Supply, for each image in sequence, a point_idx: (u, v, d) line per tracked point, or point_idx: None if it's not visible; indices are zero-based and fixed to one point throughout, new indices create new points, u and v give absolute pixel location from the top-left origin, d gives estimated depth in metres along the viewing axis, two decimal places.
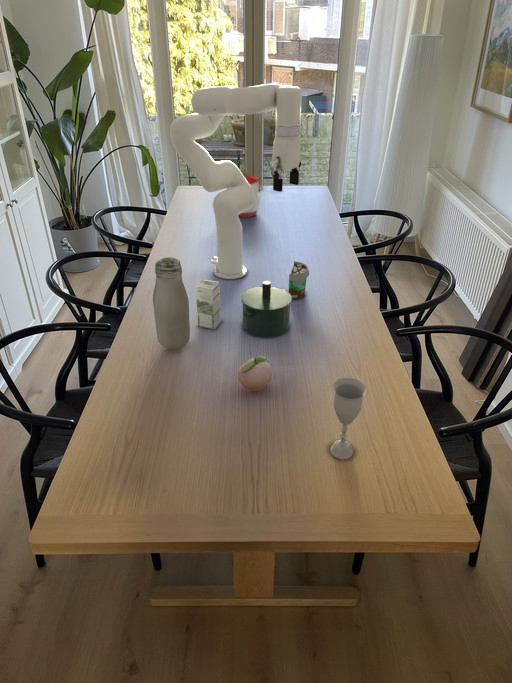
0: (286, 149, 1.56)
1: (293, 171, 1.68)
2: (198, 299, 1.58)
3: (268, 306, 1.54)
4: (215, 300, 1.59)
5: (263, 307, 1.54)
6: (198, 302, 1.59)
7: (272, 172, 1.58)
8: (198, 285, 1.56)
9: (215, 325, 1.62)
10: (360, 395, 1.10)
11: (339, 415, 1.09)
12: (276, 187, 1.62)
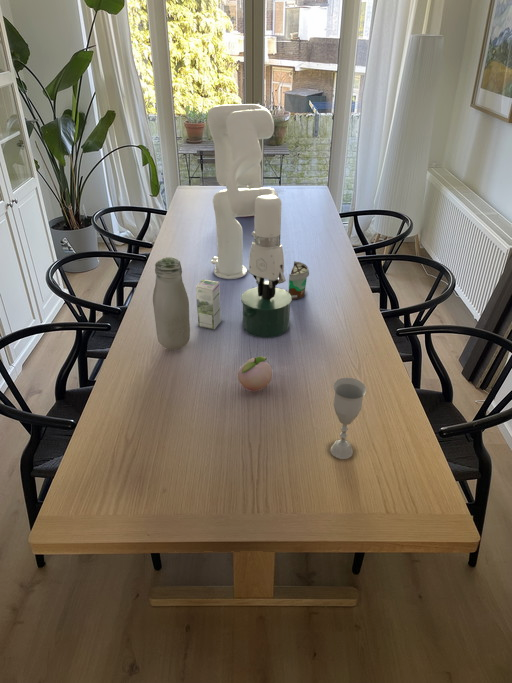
0: None
1: None
2: (198, 299, 1.58)
3: (268, 306, 1.54)
4: (215, 300, 1.59)
5: (263, 307, 1.54)
6: (198, 302, 1.59)
7: None
8: (198, 285, 1.56)
9: (215, 325, 1.62)
10: (360, 395, 1.10)
11: (339, 415, 1.09)
12: (273, 294, 1.57)
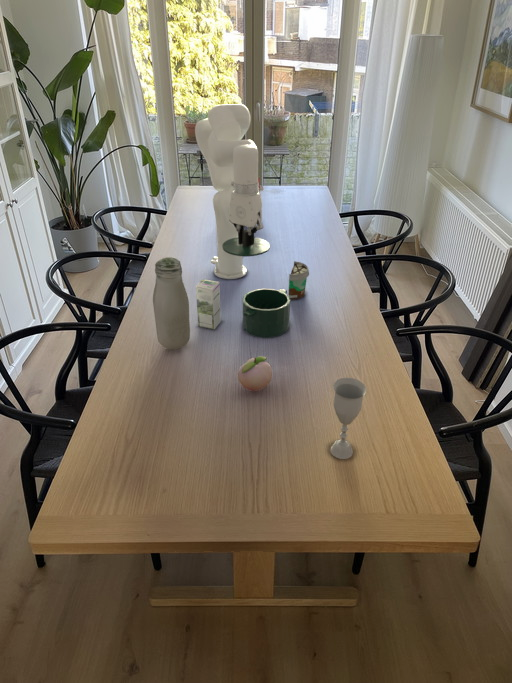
0: None
1: None
2: (198, 299, 1.58)
3: (247, 252, 1.64)
4: (215, 300, 1.59)
5: (242, 253, 1.64)
6: (198, 302, 1.59)
7: None
8: (198, 285, 1.56)
9: (215, 325, 1.62)
10: (360, 395, 1.10)
11: (339, 415, 1.09)
12: (253, 242, 1.67)
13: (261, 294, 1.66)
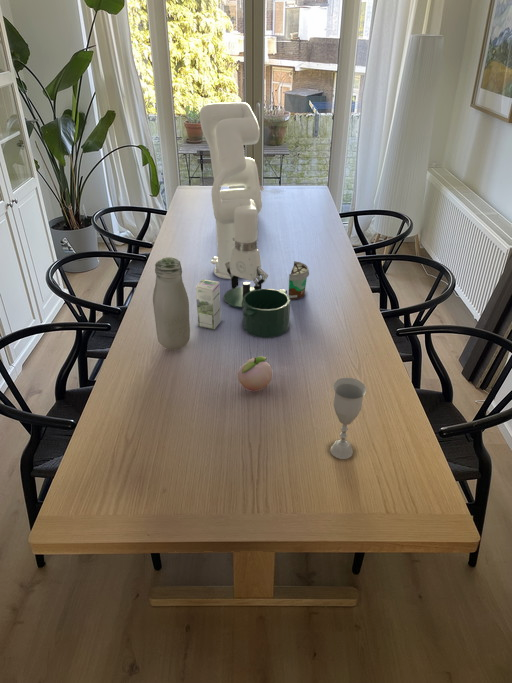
0: None
1: (235, 277, 1.78)
2: (198, 299, 1.58)
3: None
4: (215, 300, 1.59)
5: None
6: (198, 302, 1.59)
7: (264, 280, 1.71)
8: (198, 285, 1.56)
9: (215, 325, 1.62)
10: (360, 395, 1.10)
11: (339, 415, 1.09)
12: None
13: (261, 294, 1.66)
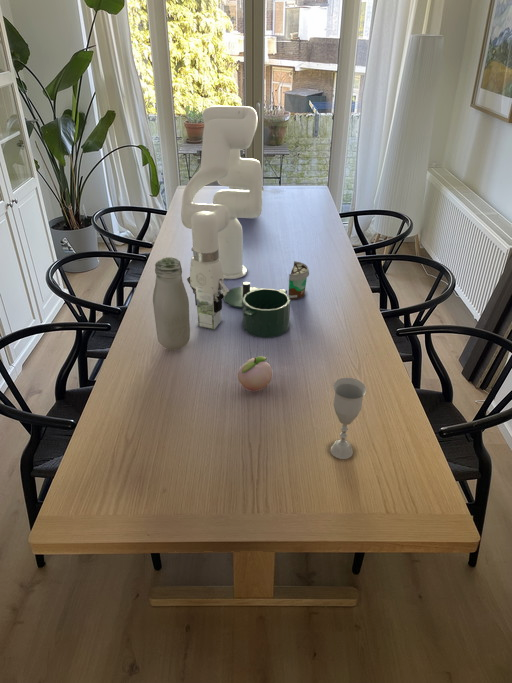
0: None
1: None
2: (198, 299, 1.58)
3: None
4: None
5: None
6: (198, 302, 1.59)
7: (224, 295, 1.55)
8: None
9: (215, 325, 1.62)
10: (360, 395, 1.10)
11: (339, 415, 1.09)
12: (220, 307, 1.59)
13: (261, 294, 1.66)
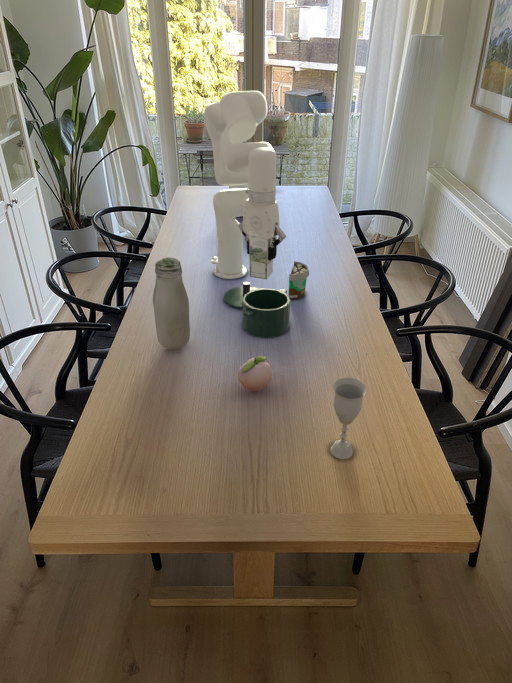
0: None
1: None
2: (251, 246, 1.48)
3: None
4: (269, 246, 1.49)
5: None
6: (251, 249, 1.49)
7: (280, 240, 1.45)
8: None
9: (268, 275, 1.53)
10: (360, 395, 1.10)
11: (339, 415, 1.09)
12: (275, 255, 1.49)
13: (261, 294, 1.66)
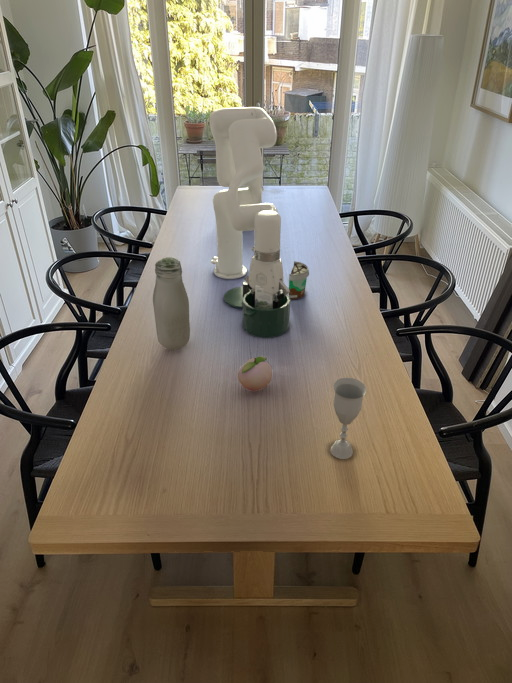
0: None
1: None
2: (257, 299, 1.57)
3: None
4: None
5: None
6: (256, 302, 1.58)
7: (284, 295, 1.54)
8: None
9: None
10: (360, 395, 1.10)
11: (339, 415, 1.09)
12: None
13: None
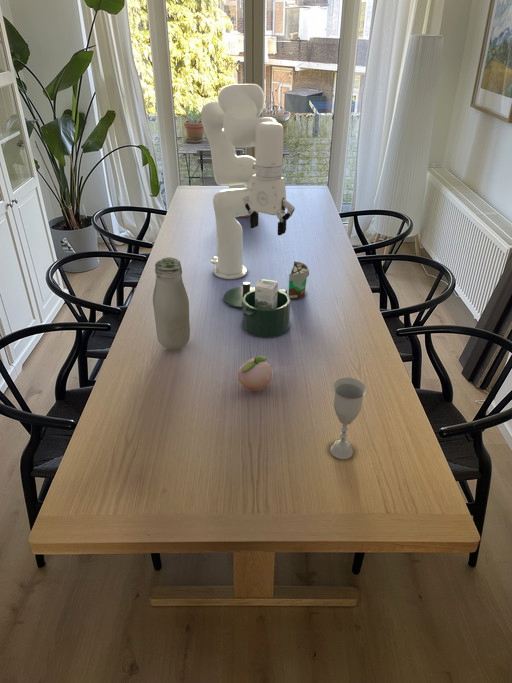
0: None
1: (254, 213, 1.51)
2: (257, 299, 1.57)
3: None
4: (274, 299, 1.58)
5: None
6: (256, 302, 1.58)
7: (290, 214, 1.44)
8: (257, 285, 1.56)
9: None
10: (360, 395, 1.10)
11: (339, 415, 1.09)
12: (284, 230, 1.48)
13: None
